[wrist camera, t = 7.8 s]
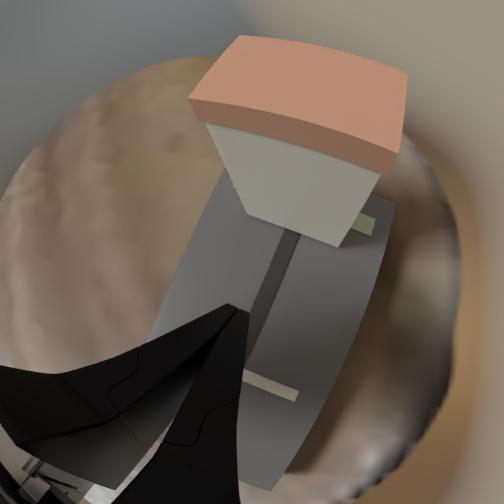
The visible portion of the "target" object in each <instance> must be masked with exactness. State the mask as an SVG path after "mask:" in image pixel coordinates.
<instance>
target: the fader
mask: <svg viewBox="0 0 504 504" xmlns="http://www.w3.org/2000/svg"><path fill="white" fill-rule="evenodd" d="M407 76H408V73H405V72H403V71H400V70H398V69H395V68H393V67H390V66H387V65H385V64H382V63H379V62H376V61H373V60H370V59H366V58H363V57H360V56H357V55H353V54H350V53H346V52H342V51H338V50H334V49H330V48H326V47H321V46H316V45H312V44H307V43H301V42H295V41H289V40H282V39H275V38H266V37H256V36H242V35H239V36H238V38H237V39H236V40H235V41H234V42H233V43H232V44H231V45H230V46H229V48H228V49H227V50H226V51H225V52H224V53H223V54H222V55H221V57H220V58H219V59H218V60H217V61H216V62H215V64H214V65H213V66H212V67H211V69H210V70H209V71H208V72H207V73H206V75H205V76H204V77H203V78H202V80H201V81H200V82H199V84H198V85H197V86H196V88H195V89H194V90H193V91H192V93H191V94H190V95H189V97H188V100H189V102H190V104H191V106H192V108H193V110H194V112H195V115H196V117H197V119H198V121H201V122H205V124H206V126H207V128H208V130H209V132H210V134H211V137H212V139H213V141H214V143H215V145H216V147H217V149H218V152H219V154H220V156H221V158H222V160H223V162H224V165H225V167H226V169H227V171H228V173H229V175H230V178H231V180H232V182H233V184H234V186H235V189H236V191H237V193H238V195H239V197H240V200H241V202H242V204H243V206H244V208H245V211H246V213H247V214H248V215H251V216H254V217H257V218H259V219H262V220H265V221H268V222H270V223H273V224H276V225H279V226H282V227H284V228H287V229H290V230H292V231H295V232H298V233H300V234H303V235H306V236H309V237H311V238H314V239H316V240H319V241H322V242H324V243H327V244H330V245H332V246H335V247H337V248H338V247H339V245H340V244H341V242H342V240H343V239H344V237H345V236H346V234H347V232H348V231H349V229H350V227H351V226H352V224H353V222H354V221H355V219H356V217H357V216H358V214H359V212H360V211H361V209H362V207H363V206H364V204H365V202H366V200H367V199H368V197H369V195H370V193H371V192H372V190H373V188H374V186H375V185H376V183H377V181H378V179H379V177H380V176H381V174H384V175H387V173H388V171H389V170H390V168H391V166H392V164H393V163H394V161H395V159H396V157H397V156H398V154H399V148H400V142H401V135H402V128H403V120H404V112H405V101H406V92H407V78H408V77H407Z"/></svg>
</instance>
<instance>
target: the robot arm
mask: <svg viewBox="0 0 504 504" xmlns="http://www.w3.org/2000/svg"><path fill="white" fill-rule="evenodd" d="M249 322H250V313H249V312H247V311H245V310H243V309H238V307H236V306H234V305H231V304H229V303H226V304H224V305H222V306H220V307H218V308H216V309H214V310H212V311H210V312H208V313H206V314H204V315H202V316H200V317H198V318H196V319H194V320H192V321H190V322H188V323H186V324H184V325H182V326H180V327H178V328H176V329H174V330H172V331H170V332H168V333H166V334H164V335H162V336H160V337H157V338H155V339H153V340H151V341H149V342H147V343H145V344H143V345H141V346H140V347H136V348H134V349H132V350H130V351H127V352H125V353H123V354H120V355H118V356H116V357H113V358H110V359H107V360H105V361H102V362H99V363H95V364H92V365H89V366H86V367H82V368H79V369H76V370H72V371H69V372H65V373H58V374H47V373H40V372H33V371H27V370H22V369H16V368H11V367H6V366H2V365H0V504H79V503H80V501H81V500H82V499H83V498H84V496H85V495H86V494H87V492H88V491H89V490H90V489H91V487H92V486H93V485H94V484H98V485H101V486H104V487H107V488H110V489H113V490H116V489H117V488H118V487H119V486H120V484H121V483H122V482H123V481H124V480H125V478H126V477H127V476H128V475H129V474H130V472H131V471H132V470H133V469H134V468H135V466H136V465H137V464H138V463H139V462H140V460H141V459H142V458H143V457H144V456H145V454H146V453H147V452H148V450H149V449H150V448H151V447H152V446H153V444H154V443H155V442H156V441H157V439H158V438H159V437H160V435H161V434H162V433H163V432H164V430H165V429H166V428H167V427H168V425H169V424H170V423H171V421H172V420H173V419H174V420H173V422H172V424H171V426H170V427H169V429H168V431H167V433H166V435H165V437H164V439H163V442H162V443H161V444H160V446H159V448H158V449H157V451H156V453H155V454H154V456H153V457H152V458H151V460H150V461H149V462H148V463H147V464H146V466H145V467H144V468H143V469H142V470H141V471H140V472H139V474H138V475H137V476H136V477H135V478H134V479H133V480H132V481H131V483H130V484H129V485H128V486H127V487H126V488H125V489H124V490H123V491H122V492H121V494H120V495H119V496H118V497H117V498H116V499H115V500H114V501H113V502H112V503H111V504H241V502H240V496H239V486H238V464H237V420H238V410H239V400H240V393H241V386H242V378H243V370H244V362H245V354H246V346H247V338H248V330H249ZM21 488H22V489H21Z"/></svg>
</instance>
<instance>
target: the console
mask: <svg viewBox="0 0 504 504" xmlns="http://www.w3.org/2000/svg"><path fill="white" fill-rule="evenodd" d="M396 204H397V203H395V202H393V201H390V200H388V199H386V198H383V197H381V196H378V195H376V194H373V193H370V195H369V197H368V199H367V200H366V202H365V204H364V206H363V207H362V209H361V211H360V212H359V214H358V216H357V217H356V219H355V221H354V222H353V224H352V226H351V227H350V229H349V231H348V232H347V234H346V236H345V237H344V239H343V240H342V242H341V244H340V245H339V247H338V248H337V247H335V246H332V245H330V244H327V243H324V242H322V241H319V240H316V239H314V238H311V237H309V236H306V235H303V234H300V233H298V232H295V231H292V230H290V229H287V228H284V227H282V226H279V225H276V224H273V223H270V222H268V221H265V220H262V219H259V218H257V217H254V216H251V215H248V214H247V213H246V211H245V208H244V206H243V204H242V202H241V200H240V197H239V195H238V193H237V191H236V189H235V186H234V184H233V182H232V180H231V178H230V175H229V173H228V171H227V169H226V168H225V170H224V172H223V174H222V176H221V177H220V179H219V181H218V183H217V185H216V187H215V189H214V191H213V193H212V195H211V197H210V199H209V201H208V203H207V205H206V207H205V209H204V211H203V214H202V216H201V218H200V220H199V222H198V224H197V226H196V228H195V230H194V232H193V235H192V237H191V239H190V241H189V243H188V245H187V248H186V250H185V252H184V254H183V256H182V259H181V261H180V263H179V265H178V268H177V270H176V272H175V274H174V277H173V279H172V281H171V284H170V286H169V288H168V291H167V293H166V296H165V298H164V300H163V303H162V305H161V308H160V310H159V313H158V315H157V317H156V320H155V323H154V325H153V328H152V330H151V333H150V335H149V338H148V340H147V342H149V341H151V340H153V339H155V338H157V337H160V336H162V335H164V334H166V333H168V332H170V331H172V330H174V329H176V328H178V327H180V326H182V325H184V324H186V323H188V322H190V321H192V320H194V319H196V318H198V317H200V316H202V315H204V314H206V313H208V312H210V311H212V310H214V309H216V308H218V307H220V306H222V305H224V304H226V303H229V304H231V305H234V306H236V307H238V309H243V310H245V311H247V312H249V313H250V322H249V330H248V338H247V346H246V354H245V362H244V370H243V378H242V386H241V393H240V400H239V410H238V420H237V464H238V480H239V481H242V482H245V483H247V484H250V485H253V486H256V487H258V488H261V489H264V490H267V491H271V490H272V489H273V488H274V486H275V485H276V483H277V482H278V481H279V479H280V478H281V476H282V475H283V473H284V472H285V470H286V469H287V467H288V466H289V464H290V463H291V461H292V459H293V458H294V456H295V455H296V453H297V452H298V450H299V448H300V447H301V445H302V443H303V442H304V440H305V438H306V437H307V435H308V433H309V431H310V430H311V428H312V426H313V424H314V422H315V421H316V419H317V417H318V415H319V413H320V411H321V410H322V408H323V406H324V404H325V402H326V400H327V398H328V396H329V394H330V392H331V390H332V388H333V386H334V384H335V382H336V380H337V378H338V375H339V373H340V371H341V369H342V367H343V365H344V362H345V360H346V358H347V355H348V353H349V351H350V348H351V346H352V344H353V341H354V339H355V336H356V334H357V331H358V329H359V326H360V324H361V321H362V319H363V316H364V313H365V310H366V308H367V305H368V302H369V299H370V296H371V294H372V291H373V288H374V285H375V282H376V278H377V275H378V272H379V269H380V266H381V262H382V259H383V255H384V252H385V248H386V245H387V241H388V237H389V234H390V230H391V226H392V222H393V218H394V213H395V209H396ZM173 420H174V419H173ZM173 420H172V421H171V423H170V424H169V425H168V427H167V428H166V429H165V430H164V432H163V433H162V434H161V435H160V437H159V438H158V439H157V440H158V441H160V442H161V443H162V442H163V439H164V437H165V435H166V433H167V431H168V429H169V427H170V426H171V424H172V422H173Z"/></svg>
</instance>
